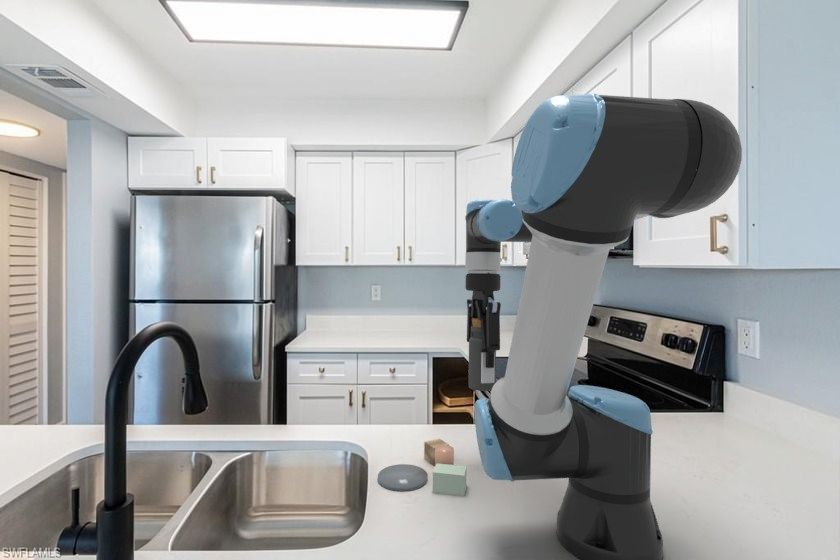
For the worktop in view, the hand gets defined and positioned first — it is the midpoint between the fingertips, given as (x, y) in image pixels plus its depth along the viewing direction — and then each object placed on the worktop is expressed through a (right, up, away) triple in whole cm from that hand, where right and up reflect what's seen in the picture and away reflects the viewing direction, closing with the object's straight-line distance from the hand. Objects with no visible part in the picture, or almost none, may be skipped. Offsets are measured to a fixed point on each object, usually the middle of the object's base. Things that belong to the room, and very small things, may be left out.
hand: (481, 378), depth 94 cm
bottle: (0, -2, 0) cm, 2 cm away
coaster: (-17, -19, -7) cm, 26 cm away
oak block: (-10, -19, +2) cm, 21 cm away
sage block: (-8, -19, -11) cm, 23 cm away
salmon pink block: (-8, -19, -4) cm, 21 cm away
